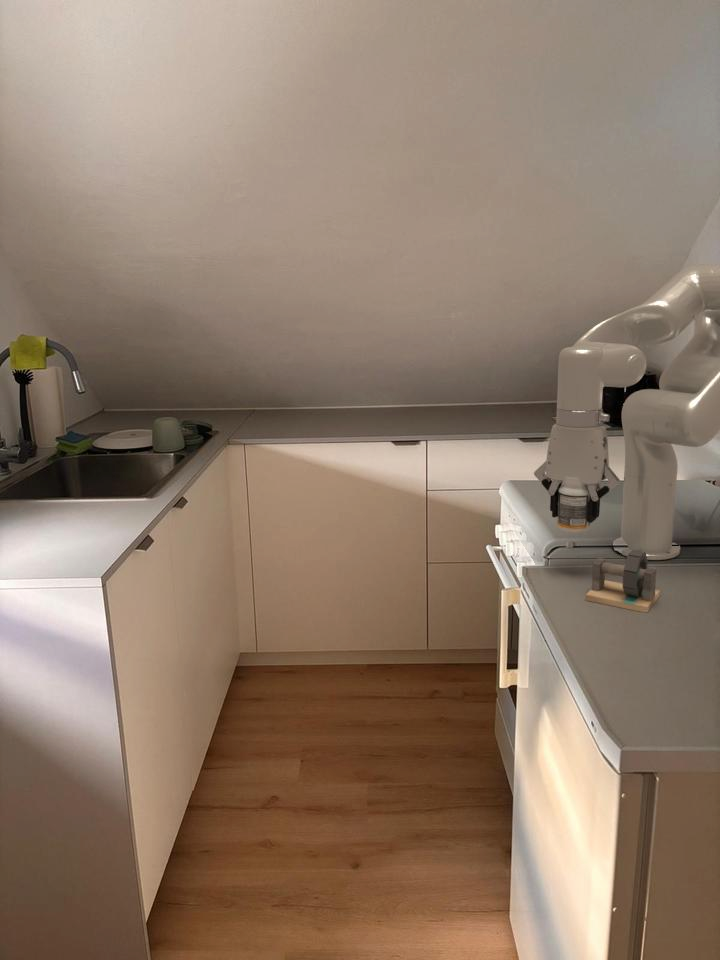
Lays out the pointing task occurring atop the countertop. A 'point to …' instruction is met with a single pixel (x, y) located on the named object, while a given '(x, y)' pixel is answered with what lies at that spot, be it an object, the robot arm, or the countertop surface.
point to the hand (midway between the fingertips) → (574, 517)
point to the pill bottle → (573, 505)
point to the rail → (614, 591)
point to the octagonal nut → (634, 573)
